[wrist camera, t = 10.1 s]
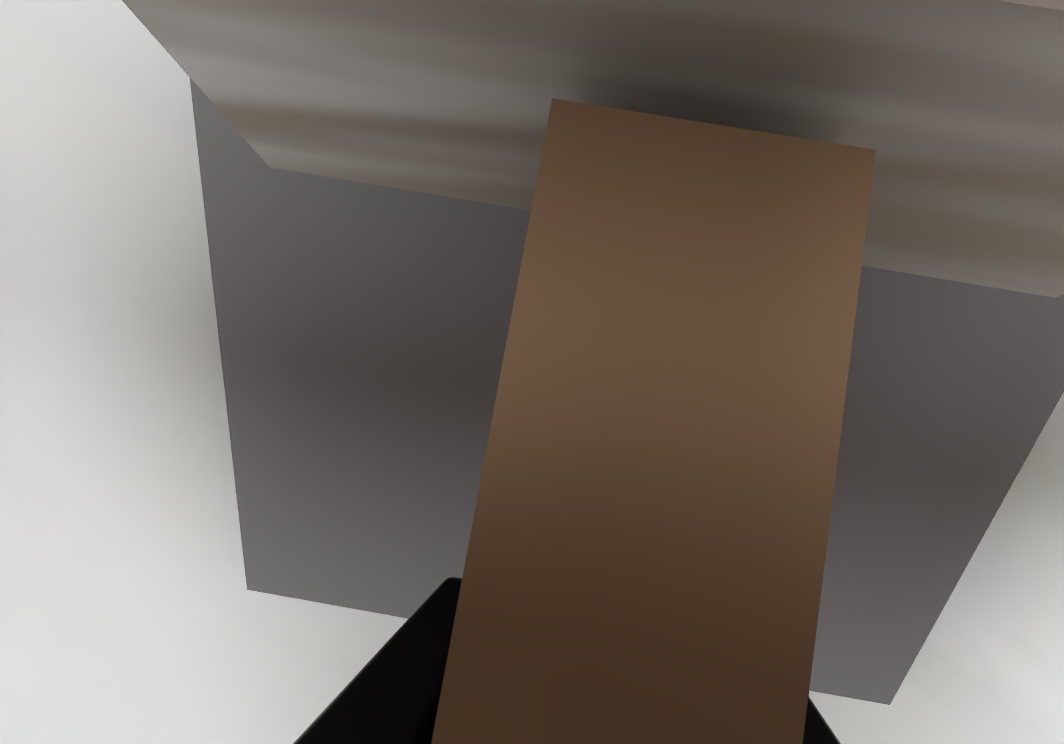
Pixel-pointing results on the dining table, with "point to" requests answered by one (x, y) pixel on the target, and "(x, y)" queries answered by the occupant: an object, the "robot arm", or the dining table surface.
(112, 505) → the dining table surface
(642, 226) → the t-shaped pusher tool
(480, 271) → the tool mat
